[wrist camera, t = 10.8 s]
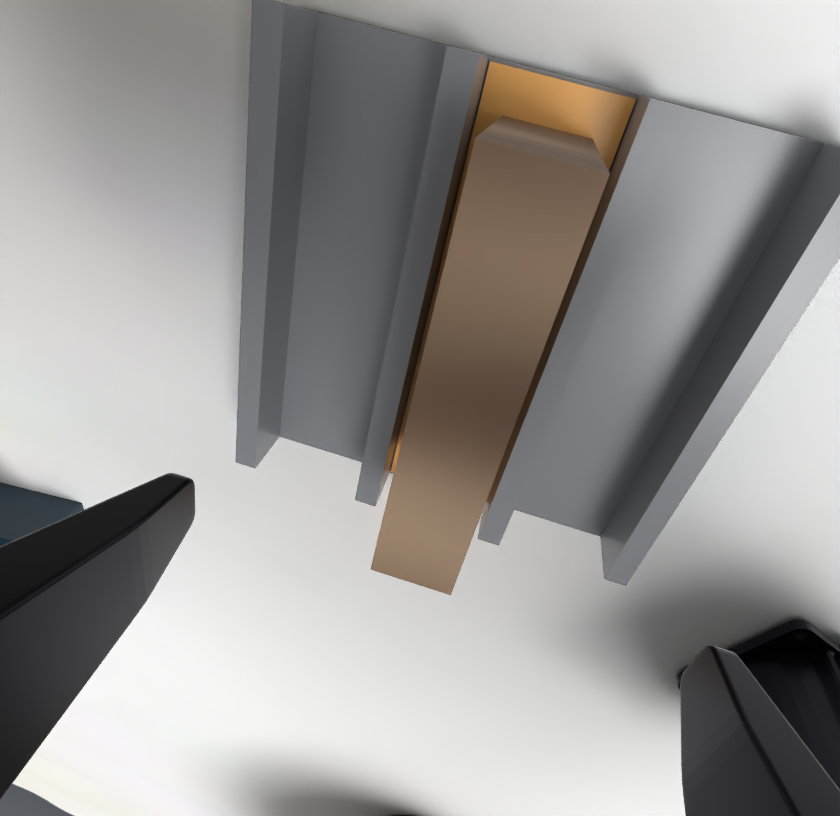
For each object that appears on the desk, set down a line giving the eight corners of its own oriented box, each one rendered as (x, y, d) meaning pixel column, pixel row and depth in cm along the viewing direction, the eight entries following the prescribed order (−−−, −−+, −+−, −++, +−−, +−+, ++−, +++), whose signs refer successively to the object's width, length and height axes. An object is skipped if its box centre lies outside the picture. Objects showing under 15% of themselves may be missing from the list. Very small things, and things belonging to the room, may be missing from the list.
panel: (475, 472, 21) (450, 594, 16) (414, 453, 22) (370, 569, 17) (592, 139, 15) (609, 173, 10) (503, 115, 15) (475, 137, 10)
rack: (845, 148, 14) (931, 172, 11) (612, 541, 23) (622, 622, 19) (298, 6, 15) (227, -12, 12) (266, 434, 24) (219, 493, 20)
